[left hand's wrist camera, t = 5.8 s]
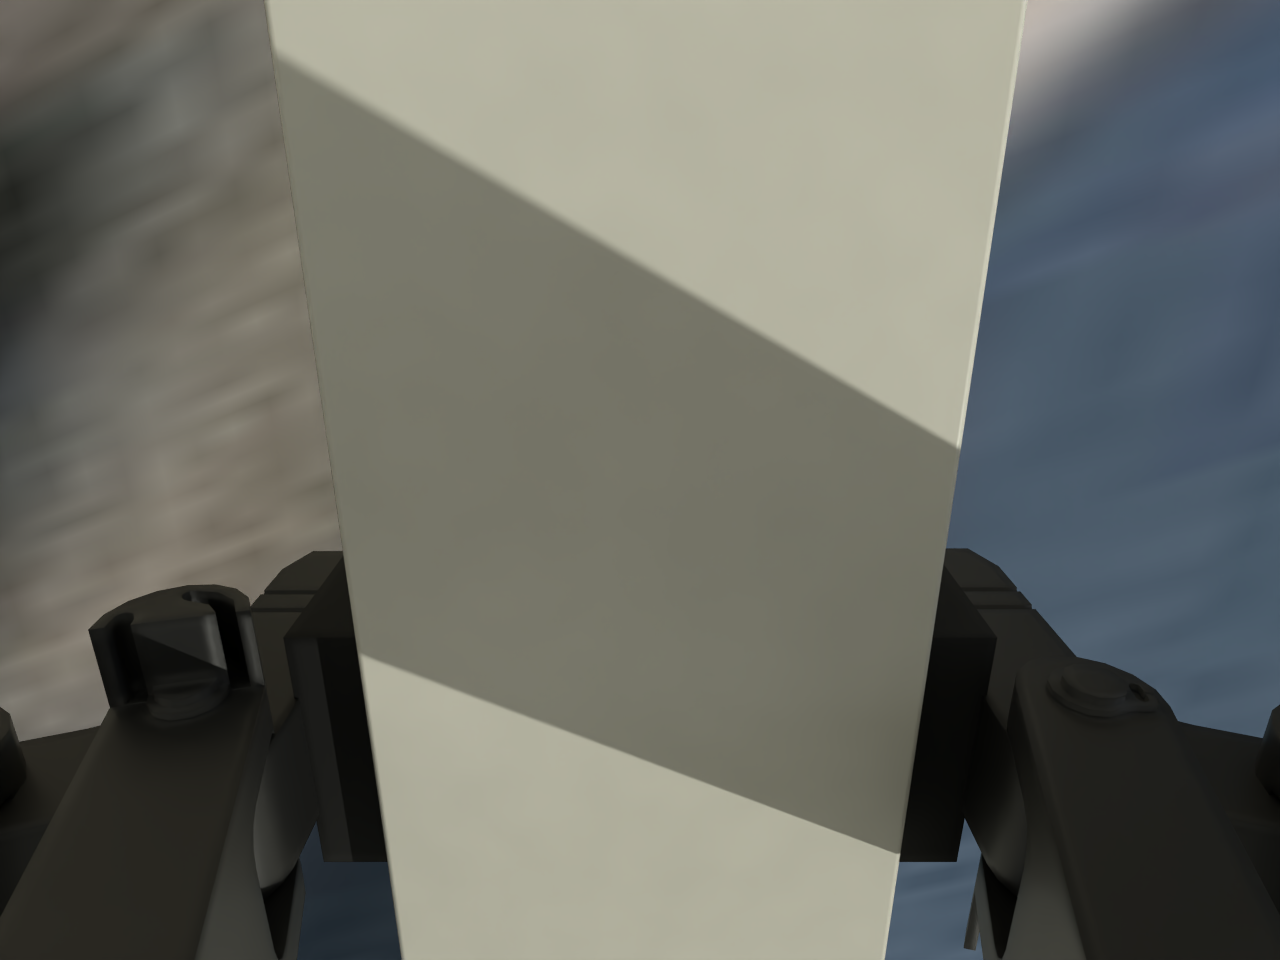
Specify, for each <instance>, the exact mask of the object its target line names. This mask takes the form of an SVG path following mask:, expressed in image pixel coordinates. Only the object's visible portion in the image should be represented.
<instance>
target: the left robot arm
mask: <svg viewBox="0 0 1280 960" xmlns="http://www.w3.org/2000/svg"><path fill="white" fill-rule="evenodd" d="M264 591H265V593H264V594H261V595H260V596H259V597H258V598H257V600H256V601H255V602H254V603H253V604H252V605H251V607H250V602H249V597H247V596H246V595H244V594H243V593H242V592H240V591H239V590H237V589H235V588H230V587H225V586H220V585H187V586H182V587H176V588H171V589H166V590H161V591H156V592H153V593H151V594H148V595H145V596H142V597H139V598H136V599H133V600H130V601H128V602H126V603H124V604H122V605H121V606H119V607H117V608H115V609H113V610H111V611H110V612H108V613H106V614H104V615H103V616H102V617H101V618H100V619H99V620H98V621H97V622H96V623H95V624H94V625H93V626H92V627H91V628H90V629H89V630H88V631H89V634H90V638H91V641H92V645H93V648H94V652H95V656H96V659H97V663H98V666H99V670H100V673H101V677H102V681H103V684H104V688H105V691H106V695H107V698H108V702H109V705H110V709H109V711H108V713H107V714H106V716H105V718H104V720H103V722H102V724H101V726H97V727H93V728H89V729H84V730H79V731H73V732H68V733H63V734H58V735H53V736H47V737H42V738H37V739H32V740H27V741H21V742H19V740H18V737H17V734H16V731H15V728H14V725H13V722H12V719H11V716H10V714H9V713H8V712H6V711H5V710H4V709H2V708H1V707H0V960H297V954H298V947H299V939H300V931H301V924H302V916H303V908H304V901H305V886H304V879H303V873H302V868H301V863H300V857H299V856H300V854H301V852H302V850H303V848H304V845H305V843H306V841H307V839H308V837H309V835H310V833H311V831H312V829H313V827H314V825H315V823H316V821H317V826H318V832H319V837H320V843H321V848H322V854H323V859H324V862H388V861H387V854H386V847H385V840H384V833H383V826H382V819H381V812H380V805H379V798H378V791H377V784H376V777H375V770H374V763H373V757H372V750H371V743H370V736H369V729H368V722H367V715H366V708H365V701H364V694H363V687H362V680H361V673H360V666H359V659H358V652H357V645H356V638H355V631H354V624H353V618H352V611H351V604H350V597H349V590H348V583H347V576H346V569H345V562H344V555H343V551H313V552H311V553H309V554H308V555H306V556H304V557H303V558H301V559H299V560H297V561H296V562H294V563H292V564H291V565H289V566H287V567H285V568H284V569H282V570H281V571H280V573H279V574H278V575H277V576H276V577H275V578H274V580H273V581H272V582H271V583H270V584H269V586H268V587H267V588H266V589H265V590H264ZM964 818H965V819H966V821H967V823H968V825H969V828H970V830H971V832H972V834H973V836H974V838H975V840H976V842H977V844H978V846H979V848H980V850H981V857H980V863H979V868H978V873H977V878H976V883H975V888H974V893H973V898H972V903H971V909H970V914H969V919H968V924H967V929H966V936H965V942H964V948H966V949H971V950H976V945H977V940H978V935H979V932H980V937H981V945H982V952H983V960H1280V705H1279V706H1277V707H1276V708H1275V709H1273V710H1272V713H1271V716H1270V719H1269V722H1268V725H1267V728H1266V731H1265V734H1264V737H1263V738H1259V737H1253V736H1248V735H1243V734H1238V733H1232V732H1227V731H1222V730H1217V729H1211V728H1206V727H1201V726H1196V725H1191V724H1187V723H1183V722H1179V721H1177V719H1176V717H1175V715H1174V713H1173V711H1172V709H1171V707H1170V706H1169V705H1168V703H1167V702H1166V701H1165V700H1164V699H1163V698H1162V696H1161V695H1160V694H1159V693H1158V692H1157V691H1156V690H1155V689H1154V688H1152V687H1151V686H1149V685H1148V684H1146V683H1145V682H1143V681H1142V680H1140V679H1139V678H1137V677H1136V676H1134V675H1132V674H1130V673H1127V672H1125V671H1123V670H1120V669H1118V668H1115V667H1113V666H1110V665H1108V664H1105V663H1101V662H1097V661H1092V660H1088V659H1083V658H1079V657H1076V656H1075V655H1074V653H1073V652H1072V651H1071V650H1070V649H1069V648H1068V646H1067V645H1066V644H1065V643H1064V642H1063V641H1062V639H1061V638H1060V637H1059V636H1058V635H1057V634H1056V632H1055V631H1054V630H1053V629H1052V628H1051V627H1050V626H1049V624H1048V623H1047V622H1046V621H1045V620H1044V619H1043V617H1042V616H1041V615H1040V614H1039V613H1038V612H1037V610H1036V609H1032V605H1031V603H1030V602H1029V601H1028V600H1027V599H1026V598H1025V596H1024V595H1023V594H1022V593H1021V592H1017V587H1016V586H1015V585H1014V584H1013V583H1012V581H1011V580H1010V579H1009V578H1008V577H1007V576H1006V574H1005V573H1004V572H1003V571H1002V570H1001V569H1000V567H999V566H997V565H995V564H994V563H992V562H990V561H988V560H987V559H985V558H983V557H982V556H980V555H978V554H976V553H975V552H973V551H971V550H969V549H946V550H945V557H944V563H943V570H942V577H941V583H940V590H939V597H938V604H937V610H936V617H935V624H934V630H933V637H932V644H931V650H930V657H929V664H928V671H927V677H926V684H925V691H924V697H923V704H922V711H921V718H920V724H919V731H918V738H917V744H916V751H915V758H914V764H913V771H912V778H911V785H910V791H909V798H908V805H907V811H906V818H905V825H904V831H903V838H902V845H901V852H900V858H899V862H957V857H958V851H959V846H960V840H961V835H962V829H963V824H964Z"/></svg>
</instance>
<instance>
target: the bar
mask: <svg viewBox="0 0 1280 960" xmlns="http://www.w3.org/2000/svg"><path fill="white" fill-rule="evenodd" d="M264 6H265V13H266V20H267V27H268V34H269V41H270V48H271V55H272V62H273V69H274V76H275V83H276V89H277V96H278V103H279V110H280V117H281V124H282V131H283V138H284V145H285V152H286V159H287V166H288V173H289V180H290V187H291V194H292V201H293V208H294V215H295V221H296V228H297V235H298V242H299V249H300V256H301V263H302V270H303V277H304V284H305V291H306V298H307V305H308V312H309V319H310V326H311V333H312V340H313V347H314V354H315V360H316V367H317V374H318V381H319V388H320V395H321V402H322V409H323V416H324V423H325V430H326V437H327V444H328V451H329V458H330V465H331V472H332V479H333V486H334V492H335V499H336V506H337V513H338V520H339V527H340V534H341V541H342V548H343V555H344V562H345V569H346V576H347V583H348V590H349V597H350V604H351V611H352V618H353V624H354V631H355V638H356V645H357V652H358V659H359V666H360V673H361V680H362V687H363V694H364V701H365V708H366V715H367V722H368V729H369V736H370V743H371V750H372V757H373V763H374V770H375V777H376V784H377V791H378V798H379V805H380V812H381V819H382V826H383V833H384V840H385V847H386V854H387V861H388V868H389V875H390V882H391V889H392V895H393V902H394V909H395V916H396V923H397V930H398V937H399V944H400V951H401V958H402V960H884V959H885V952H886V945H887V939H888V932H889V925H890V919H891V912H892V905H893V898H894V892H895V885H896V878H897V872H898V865H899V858H900V852H901V845H902V838H903V831H904V825H905V818H906V811H907V805H908V798H909V791H910V785H911V778H912V771H913V764H914V758H915V751H916V744H917V738H918V731H919V724H920V718H921V711H922V704H923V697H924V691H925V684H926V677H927V671H928V664H929V657H930V650H931V644H932V637H933V630H934V624H935V617H936V610H937V604H938V597H939V590H940V583H941V577H942V570H943V563H944V557H945V550H946V543H947V537H948V530H949V523H950V516H951V510H952V503H953V496H954V490H955V483H956V476H957V470H958V463H959V456H960V449H961V443H962V436H963V429H964V423H965V416H966V409H967V402H968V396H969V389H970V382H971V376H972V369H973V362H974V356H975V349H976V342H977V335H978V329H979V322H980V315H981V309H982V302H983V295H984V289H985V282H986V275H987V268H988V262H989V255H990V248H991V242H992V235H993V228H994V222H995V215H996V208H997V201H998V195H999V188H1000V181H1001V175H1002V168H1003V161H1004V154H1005V148H1006V141H1007V134H1008V128H1009V121H1010V114H1011V108H1012V101H1013V94H1014V87H1015V81H1016V74H1017V67H1018V61H1019V54H1020V47H1021V41H1022V34H1023V27H1024V20H1025V14H1026V7H1027V0H264Z"/></svg>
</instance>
